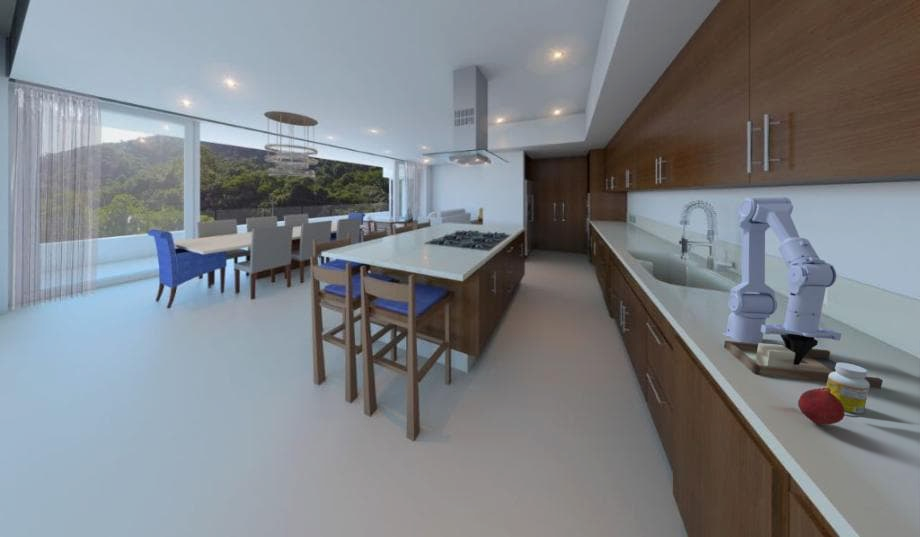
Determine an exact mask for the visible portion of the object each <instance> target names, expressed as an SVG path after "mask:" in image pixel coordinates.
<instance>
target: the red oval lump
mask: <svg viewBox="0 0 920 537" xmlns="http://www.w3.org/2000/svg"><path fill="white" fill-rule="evenodd" d="M830 391H831V389H830V388H829V387H826V386H821V387H819V388H813V389H809V390H807V391H804V392H803V393H802V394H801V395H800V397H799V399H798V402H797V406H798V408H799V409H800V412H801V413H802V414H803V415H804V416H805V417H806V418H807V419H808V420H810V421H811V422H812V423H813V424H815V425H818V426H824V425H832V424H837V423H839V422H841V421H842V420H844V417H845V416H844V414H845V412H844V407H843V405H842V403H841V402H840V401H839V399H838V398H837V397H835V396H834V395H833V394H832V393H830Z"/></svg>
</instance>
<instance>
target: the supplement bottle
mask: <svg viewBox="0 0 920 537" xmlns="http://www.w3.org/2000/svg"><path fill="white" fill-rule="evenodd" d="M836 363H837V364H836V366H835V370H836V372H831V373H830V374H829V376H828V380H827V382H826V384H825V385H826V386H825V387H829V388H830V389H831V391H830V393H832V394H833V395H834V396H835V397H837V398H838V399H839V401H840V402H841V403H842V405H843V407H844V417H849V418H861V416H860V415H863V414H864V412H865V408H866V403H867V398H868V394H869V392H870V388H871V387H870V384H869V382H868V381H867V380H865V379H864V378H865V377H868V376H867V374H868V370H867V369H866V368H864V367H861V366H858V365H856V364H852V363H848V362H836ZM845 413H848V414H845ZM850 414H853V415H850Z"/></svg>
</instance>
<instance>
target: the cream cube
mask: <svg viewBox="0 0 920 537" xmlns="http://www.w3.org/2000/svg"><path fill="white" fill-rule="evenodd" d="M794 358H795V353H794V352H792V351H791V350H789V349H788V348H786V347H785V345H783V344H776V343H775V344H774V343H763V342H762V343H758V349H757V355H756V361H757V362H758V363H759V364H761V365H764V366H773V367H783V368H792V369H793V363H794Z"/></svg>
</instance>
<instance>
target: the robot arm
mask: <svg viewBox="0 0 920 537" xmlns="http://www.w3.org/2000/svg"><path fill="white" fill-rule="evenodd" d="M793 210H794V205H793V204H792V201H791V199H790V198H789V197H788V196H781V197H750V196H749V197H746V198H744V200H743V201H742V202H741V204H740V205H739V206H738V213H737V214H738V219H737V220H738V221H737V222H738V227H740V228H741V234H742V236H741V237H742V238H741V240H742V241H741V282H740V283H739V284H736V286H733V287H732V288H730V295H729V297H728V300H727V301H728V303H727V304H728V307H729V309H730V311H731V313H730V314H729V316H728V317H727V318H728V320H727V324H726V325H727V327H726V332H722V335H723V336H725V337H731V339H733V340H735V341H736V342H745V343H755V344H758V343H763V339H764V335H780V337H781V339H782V342H783V343H784V346H786V348H788V349H789V350H791V351H792V352H794V353H795V358H794V363H793V364H794V365H799V364H800V362H801V361H802V359H803V358H804V356H805V355H806V354H807V353H808V352H809V351H810V350H811V349H814V348H815V347H816V346H818V343H819V341H818V340H817V339H815V338H818V339H829V340H834V341H841V338H842V332H840V331H838V330H836V329H827V328H820V327H819V325H820V319H821V314H822V310H823V305H824V299H825V295H826V290H827V288H830V287H832V286H833V285H834V284H835V283H836V281H837V280H836V279H837V271H836V269H835V266H834V265H833V264H831V263H828V262H826V261H825V260H823V259H820V257H819V255H818V254H817V252H816V251H815V249H814V247H813V245H812V244H811V242H810V241H809V239H807V238H802V237H800V235H799V233H798V230H797V227H796V226H795V223H794V221H793V219H792V213H793ZM770 228H771V230H772V231H773V233H774V234H775V236H776V237H777V238H778V240H779V241H780V243H781V244H779V246H778V252H779V253H780V255H781V257H782V259H783V260H784V263H785V265H786V267H787V268H788V269H787V271H786V272H785V278H786V281H787V287H786V288H787V292H789V295H788V300H787V306H786V313H785V316H784V317H785V319H784V323H783V324H766V323H767V322H766V321H767V319H769V318H770V317H771V316H772V315H774V313H775V312H776V311H777V308H778V301H777V299H776V296H775V289H773V288H772V287H770V286H768V285H767V284H766V231H767V230H768V229H770ZM770 315H771V316H770Z"/></svg>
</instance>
